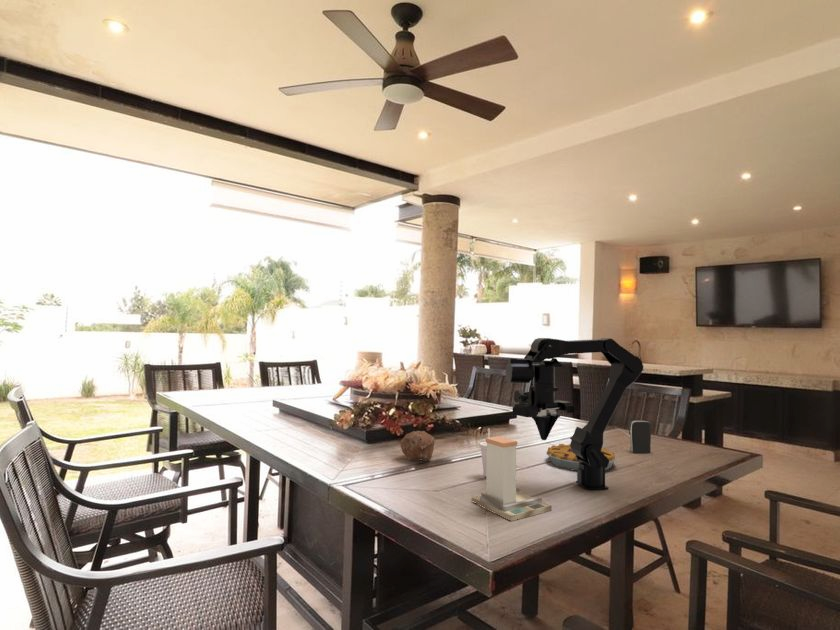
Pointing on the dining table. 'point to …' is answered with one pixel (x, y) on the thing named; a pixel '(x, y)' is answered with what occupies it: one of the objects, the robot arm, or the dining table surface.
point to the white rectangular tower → (501, 469)
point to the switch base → (513, 506)
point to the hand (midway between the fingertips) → (543, 439)
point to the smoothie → (484, 454)
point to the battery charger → (640, 436)
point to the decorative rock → (418, 445)
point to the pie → (572, 456)
